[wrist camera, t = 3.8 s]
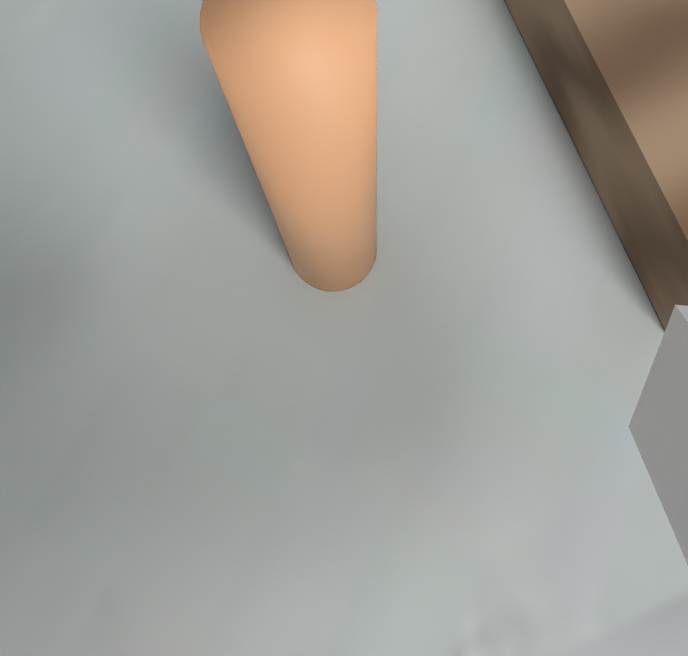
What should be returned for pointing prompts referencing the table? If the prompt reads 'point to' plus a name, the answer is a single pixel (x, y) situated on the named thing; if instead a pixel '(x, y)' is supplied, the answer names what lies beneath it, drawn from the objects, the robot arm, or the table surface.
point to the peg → (306, 122)
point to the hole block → (625, 119)
